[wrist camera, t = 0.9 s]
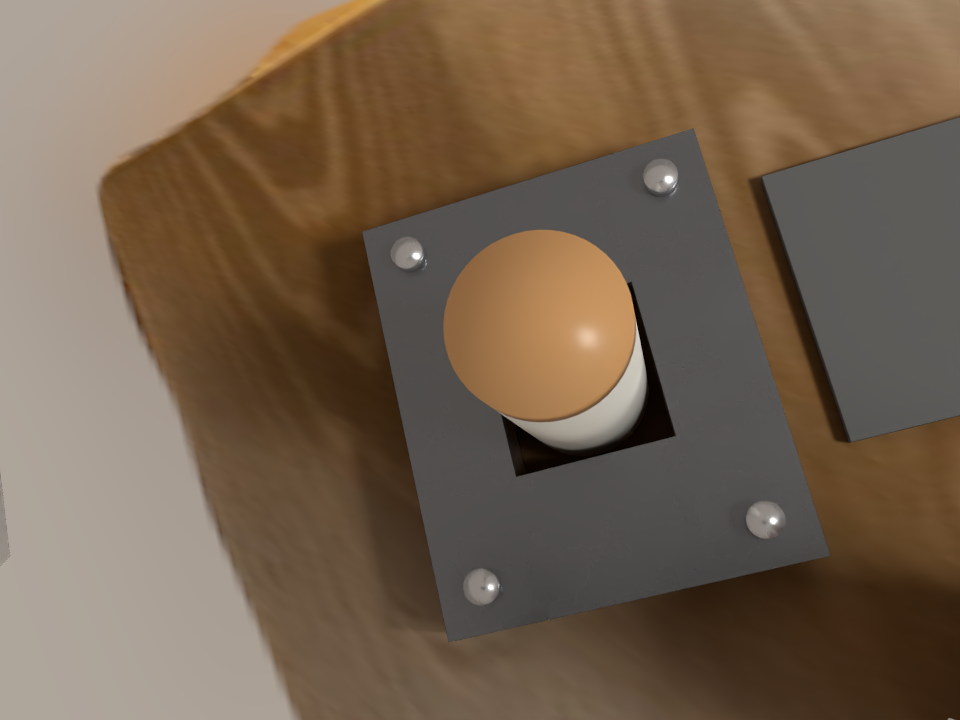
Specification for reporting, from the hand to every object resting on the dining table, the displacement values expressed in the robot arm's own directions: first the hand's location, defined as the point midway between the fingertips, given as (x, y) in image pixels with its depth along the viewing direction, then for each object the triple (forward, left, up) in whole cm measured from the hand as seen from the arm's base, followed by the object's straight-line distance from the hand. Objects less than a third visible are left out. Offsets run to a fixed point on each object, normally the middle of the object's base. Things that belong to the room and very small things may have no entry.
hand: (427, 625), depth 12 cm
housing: (-1, -7, -26) cm, 27 cm away
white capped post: (-1, -7, -26) cm, 27 cm away
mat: (-17, -8, -26) cm, 33 cm away
